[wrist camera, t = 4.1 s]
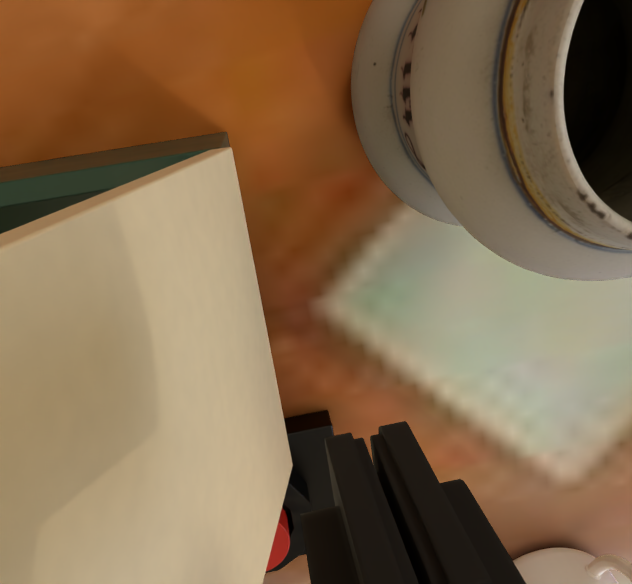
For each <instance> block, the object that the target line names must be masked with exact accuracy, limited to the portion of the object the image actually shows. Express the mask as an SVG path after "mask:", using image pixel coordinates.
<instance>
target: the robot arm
mask: <svg viewBox="0 0 632 584" xmlns="http://www.w3.org/2000/svg"><path fill="white" fill-rule="evenodd" d="M370 441H371V449H372V457H373V463H372V460H371V457H370V455H369V452H368V449H367V447H366V444H365V442H364V439H363V438H358V439H353V436H352V434H351V433H346V434H341V435H337V436H332V437H327V438H325V447H326V453H327V459H328V465H329V471H330V477H331V483H332V489H333V495H334V501H335V506H334V507H330V508H325V509H321V510H316V511H311V512H307V513H302V514H300V517H301V523H302V530H303V536H304V542H305V549H306V555H307V561H308V567H309V574H310V580H311V584H526V582H525V581H524V579H523V577H522V576H521V574H520V572H519V571H518V569H517V567H516V566H515V564H514V562H513V561H512V559H511V558H510V556H509V554H508V553H507V551H506V549H505V548H504V546H503V544H502V543H501V541H500V539H499V538H498V536H497V534H496V533H495V531H494V529H493V528H492V526H491V525H490V523H489V521H488V520H487V518H486V516H485V515H484V513H483V511H482V510H481V508H480V506H479V505H478V503H477V501H476V500H475V498H474V496H473V495H472V493H471V492H470V490H469V488H468V487H467V485H466V484H465V482H464V481H463V480H461V479H458V480H453V481H448V482H444V483H439V481H438V479H437V477H436V476H435V474H434V472H433V470H432V468H431V466H430V464H429V463H428V461H427V459H426V457H425V455H424V453H423V451H422V450H421V448H420V446H419V444H418V442H417V440H416V438H415V437H414V435H413V433H412V431H411V429H410V427H409V425H408V424H407V422H405V421H404V422H399V423H394V424H389V425H385V426H380V427H379V434H377V435H373V436H371V437H370ZM373 464H374V465H373Z"/></svg>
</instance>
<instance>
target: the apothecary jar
mask: <svg viewBox="0 0 632 584" xmlns="http://www.w3.org/2000/svg"><path fill="white" fill-rule="evenodd" d="M351 98H352V107H353V113H354V119H355V124H356V128H357V131H358V135H359V138H360V141H361V144H362V146H363V149H364V151H365V153H366V155H367V157H368V159H369V161H370V163H371V165H372V166H373V168H374V170H375V171H376V173H377V174H378V175H379V177H380V178H381V180H382V181H383V182H384V183H385V185H386V186H387V187H388V188H389V189H390V190H391V191H392V192H393V193H394V194H395V195H396V196H398V197H399V198H400V199H401V200H402V201H404V202H405V203H406V204H408V205H409V206H410V207H412V208H413V209H415V210H417V211H418V212H420V213H422V214H424V215H426V216H428V217H431V218H433V219H436V220H438V221H441V222H445V223H448V224H452V225H457V226H463V227H464V228H465V229H466V230H467V231H468V232H469V233H470V234H471V235H472V236H473V237H474V238H475V239H477V240H478V241H479V242H480V243H482V244H483V245H484V246H486V247H487V248H488V249H490V250H491V251H493V252H494V253H496V254H497V255H499V256H500V257H502V258H504V259H505V260H507V261H509V262H511V263H513V264H515V265H517V266H520V267H522V268H524V269H527V270H530V271H533V272H536V273H539V274H542V275H546V276H551V277H555V278H561V279H569V280H582V281H603V280H614V279H621V278H628V277H632V0H373V1H372V3H371V5H370V7H369V9H368V11H367V14H366V16H365V18H364V21H363V24H362V26H361V29H360V32H359V36H358V39H357V43H356V47H355V51H354V57H353V63H352V73H351Z"/></svg>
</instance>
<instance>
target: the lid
mask: <svg viewBox="0 0 632 584" xmlns="http://www.w3.org/2000/svg"><path fill="white" fill-rule="evenodd" d="M292 466H293V464H292V458H291V453H290V448H289V443H288V438H287V432H286V427H285V422H284V417H283V412H282V406H281V401H280V396H279V391H278V386H277V380H276V375H275V370H274V365H273V359H272V354H271V349H270V344H269V339H268V333H267V328H266V323H265V318H264V313H263V307H262V302H261V297H260V292H259V287H258V281H257V276H256V271H255V266H254V261H253V255H252V250H251V245H250V240H249V235H248V229H247V224H246V219H245V214H244V209H243V203H242V198H241V193H240V188H239V183H238V177H237V172H236V167H235V162H234V157H233V151H232V148H231V147H226V148H219V149H212V150H208V151H206V152H203V153H201V154H199V155H196V156H194V157H191V158H189V159H186V160H184V161H181V162H179V163H176V164H174V165H171V166H169V167H166V168H164V169H161V170H159V171H156V172H154V173H151V174H149V175H146V176H144V177H141V178H139V179H136V180H134V181H131V182H129V183H126V184H124V185H121V186H119V187H116V188H114V189H112V190H109V191H107V192H104V193H102V194H99V195H97V196H94V197H92V198H89V199H87V200H84V201H82V202H79V203H77V204H74V205H72V206H69V207H67V208H64V209H62V210H59V211H57V212H54V213H52V214H49V215H47V216H44V217H42V218H39V219H37V220H34V221H32V222H29V223H27V224H25V225H22V226H20V227H17V228H15V229H12V230H10V231H7V232H5V233H2V234H0V584H263V580H264V576H265V572H266V568H267V564H268V560H269V556H270V552H271V548H272V545H273V541H274V537H275V533H276V529H277V525H278V521H279V517H280V513H281V509H282V505H283V501H284V498H285V494H286V490H287V486H288V482H289V478H290V474H291V470H292Z"/></svg>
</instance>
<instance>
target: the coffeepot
mask: <svg viewBox="0 0 632 584" xmlns="http://www.w3.org/2000/svg"><path fill="white" fill-rule="evenodd" d="M513 562H514V564H515V566H516V567H517V569H518V571H519V572H520V574H521V576H522V577H523V579H524V581H525V582H526V584H619V583H618V582H617V580H616V579H615V577H614V576H613V574H612V573H611V572H610V570H609V569H614V570H617V571H619V572H620V573H622V574H623V575H625V576H626V577H627V578H628V579H629V580H630V581H631V582H632V563H630V562H629V561H627V560H625V559H623V558H621V557H619V556H616V555H608V554H607V555H602V556H599V557H597V558H595V557H594V556H592V555H590V554H588V553H586V552H583V551H580V550H576V549H570V548H547V549H542V550H538V551H534V552H531V553H528V554H525V555H523V556H521V557H519V558H517V559H515V560H513Z"/></svg>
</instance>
